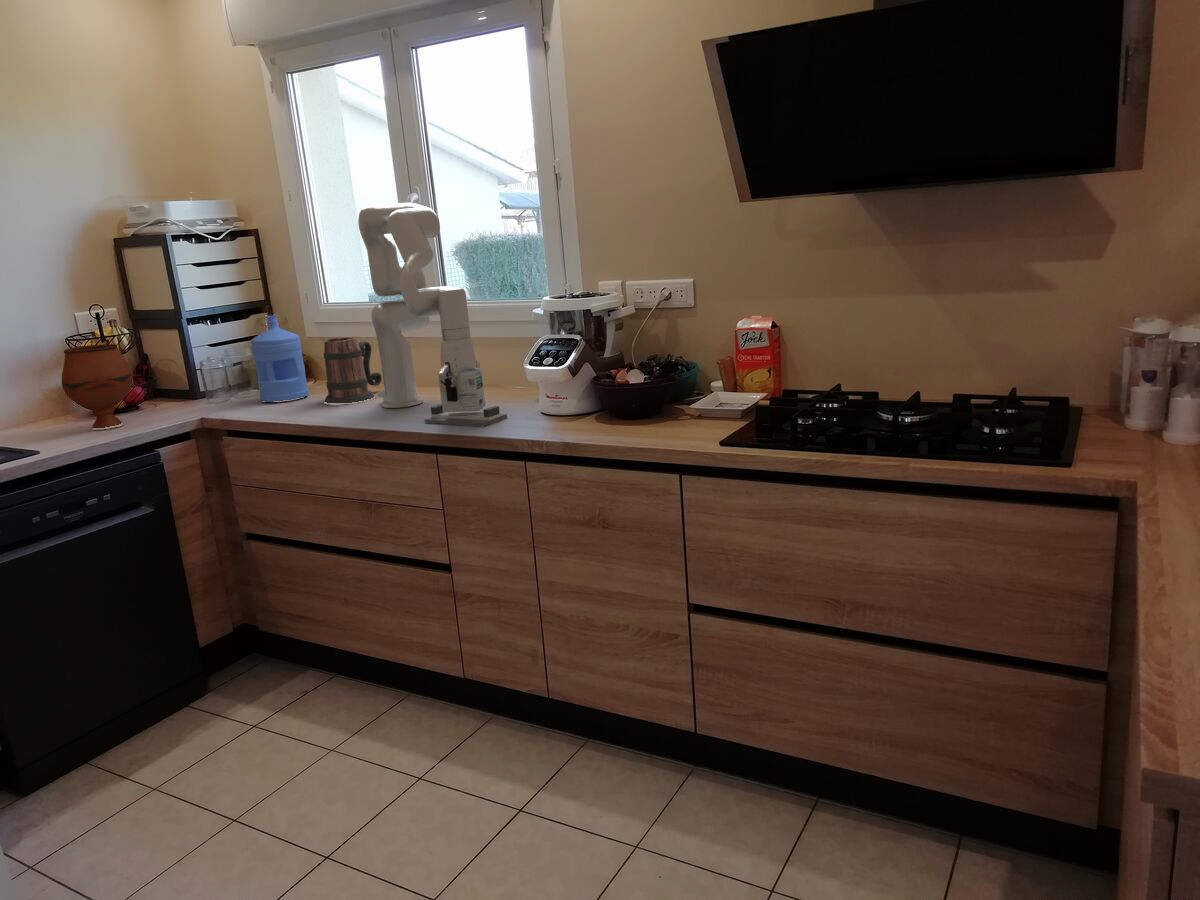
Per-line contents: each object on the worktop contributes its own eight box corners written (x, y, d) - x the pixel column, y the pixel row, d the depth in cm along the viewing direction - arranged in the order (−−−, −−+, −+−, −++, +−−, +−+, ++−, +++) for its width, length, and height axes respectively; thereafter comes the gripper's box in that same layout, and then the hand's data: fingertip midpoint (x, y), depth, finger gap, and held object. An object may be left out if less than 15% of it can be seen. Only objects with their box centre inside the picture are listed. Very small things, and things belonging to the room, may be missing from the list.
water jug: (275, 395, 302) (261, 314, 295) (317, 393, 300) (304, 312, 293) (251, 404, 288) (236, 320, 281) (295, 402, 285) (282, 317, 278)
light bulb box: (486, 406, 241) (482, 367, 238) (480, 411, 234) (476, 372, 232) (448, 407, 242) (444, 369, 239) (441, 413, 236) (437, 373, 233)
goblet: (104, 435, 254) (85, 351, 248) (57, 434, 261) (38, 352, 255) (156, 420, 272) (140, 341, 265) (111, 420, 278) (94, 342, 272)
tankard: (350, 406, 272) (340, 342, 267) (311, 404, 280) (301, 342, 275) (400, 391, 292) (392, 332, 287) (362, 390, 300) (354, 332, 295)
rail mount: (424, 423, 239) (423, 409, 238) (449, 414, 248) (448, 401, 247) (483, 426, 230) (482, 412, 229) (507, 417, 239) (505, 403, 238)
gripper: (464, 330, 242) (471, 391, 247) (424, 339, 228) (432, 403, 232) (486, 330, 239) (492, 391, 243) (446, 339, 224) (454, 405, 228)
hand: (463, 397), depth 237 cm, fingers closed on light bulb box, 8 cm apart
